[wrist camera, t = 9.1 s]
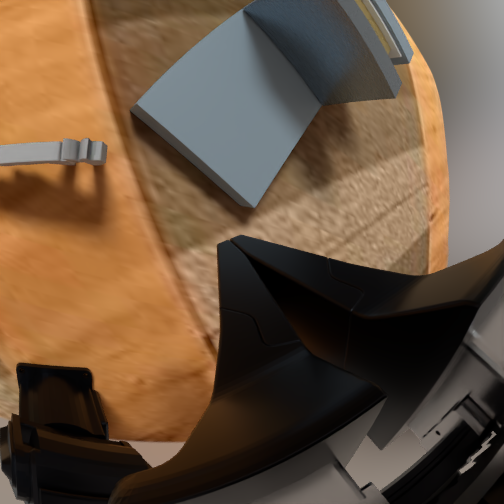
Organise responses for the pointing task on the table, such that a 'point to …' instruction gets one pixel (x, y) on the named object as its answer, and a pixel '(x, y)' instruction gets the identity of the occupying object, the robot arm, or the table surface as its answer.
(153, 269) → the table surface
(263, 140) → the vise
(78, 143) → the caliper
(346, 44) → the sliding jaw
